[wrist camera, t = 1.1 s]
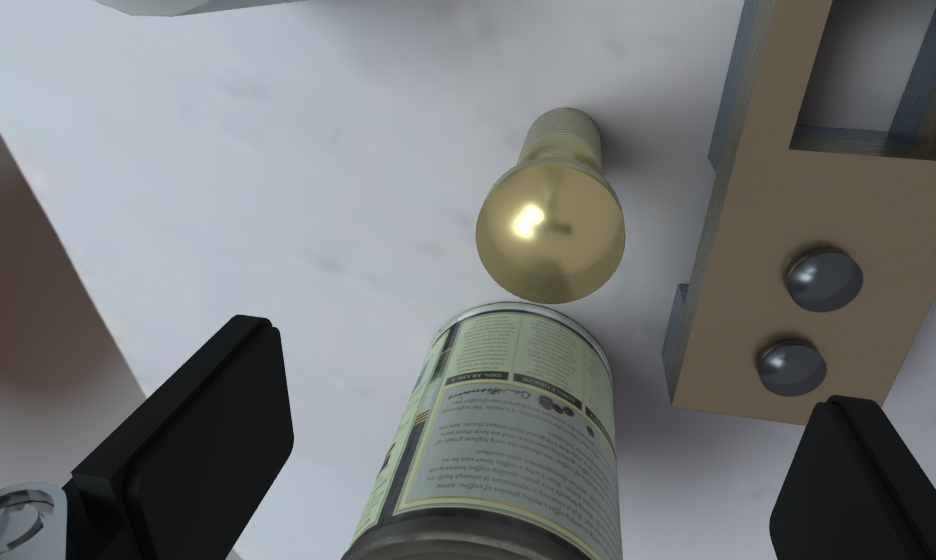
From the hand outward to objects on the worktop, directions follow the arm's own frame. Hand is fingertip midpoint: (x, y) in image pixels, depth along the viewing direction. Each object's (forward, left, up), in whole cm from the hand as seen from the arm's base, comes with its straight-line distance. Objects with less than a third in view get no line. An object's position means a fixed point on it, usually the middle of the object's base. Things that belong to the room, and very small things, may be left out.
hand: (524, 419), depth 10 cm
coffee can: (+13, -1, -18) cm, 22 cm away
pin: (0, 0, -17) cm, 17 cm away
